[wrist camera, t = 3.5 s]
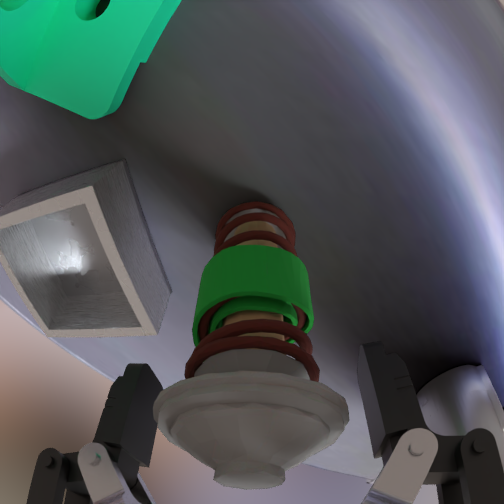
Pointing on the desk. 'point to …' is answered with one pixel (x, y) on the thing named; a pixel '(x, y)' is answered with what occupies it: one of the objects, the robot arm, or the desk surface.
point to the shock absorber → (252, 360)
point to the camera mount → (79, 49)
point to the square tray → (85, 256)
